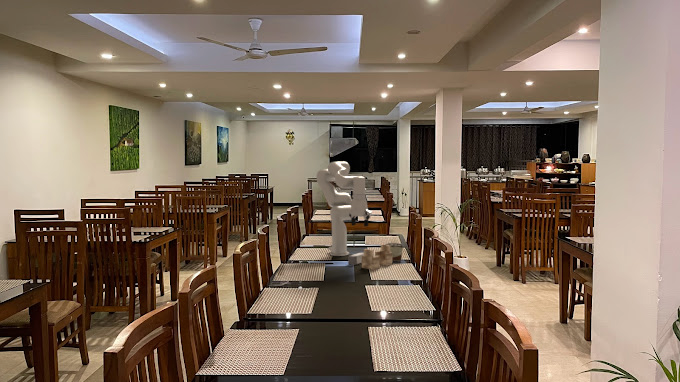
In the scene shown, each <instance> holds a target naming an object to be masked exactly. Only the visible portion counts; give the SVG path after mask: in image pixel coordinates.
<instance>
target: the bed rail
mask: <svg viewBox="0 0 680 382" xmlns="http://www.w3.org/2000/svg"><path fill="white" fill-rule="evenodd" d="M363 255H364V251H361V252H358V253H355V254H351V255H350V254H349V255H347V256H348V257H347V258H348V259H347V260H348V261H347V264H348V265H351V266H355V265H356V266H357V265H359V264H362V256H363Z"/></svg>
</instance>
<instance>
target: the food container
mask: <svg viewBox="0 0 680 382" xmlns="http://www.w3.org/2000/svg"><path fill="white" fill-rule="evenodd" d="M384 244H385V245H390V252H392V262H402V259H403V257H402V256H403V249H404V245H403V244H402V243H399V242H388V243H384Z"/></svg>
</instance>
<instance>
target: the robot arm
mask: <svg viewBox="0 0 680 382" xmlns="http://www.w3.org/2000/svg"><path fill="white" fill-rule="evenodd" d="M350 170H351V166H350V164H349V163H348V162H347V161H331V162H330V163H329V164H328V165H327V168H324V169H320V170H318V171H317V173H316V181H317V182H316V183H317V185H318V187H319V188H320V190H321V191H322V193H323V195H324V197H325V200H326V203H327V205H328V206H329V207H330V208H331V209H330V211H329V215H330V221H331V246H328V251H330V252H329V255H330V256H334V257H340V256H341V257H344V256H345V257H346V256H350V251H348V250H347V249H348V246H347V244H348V240H347V239H348V235H347V232H348V231H347V226H346V224H345V221H351V226H356V222H357V221H356V217H363V219H364V220H363V227H369V220H370V218H371V216H372V213H373V212H372V211H370V210H369V208H368V206H369V205H368V201H367V198H366V177H365V176H360V175H349V173H350ZM332 182H335V184H336V186H338V187H339V188H341V189H344V190H346V189H348V190H349V189H352V195H350V193H348V192H338V191H337V189H336V187H335V186H334V184H333V183H332Z"/></svg>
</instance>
